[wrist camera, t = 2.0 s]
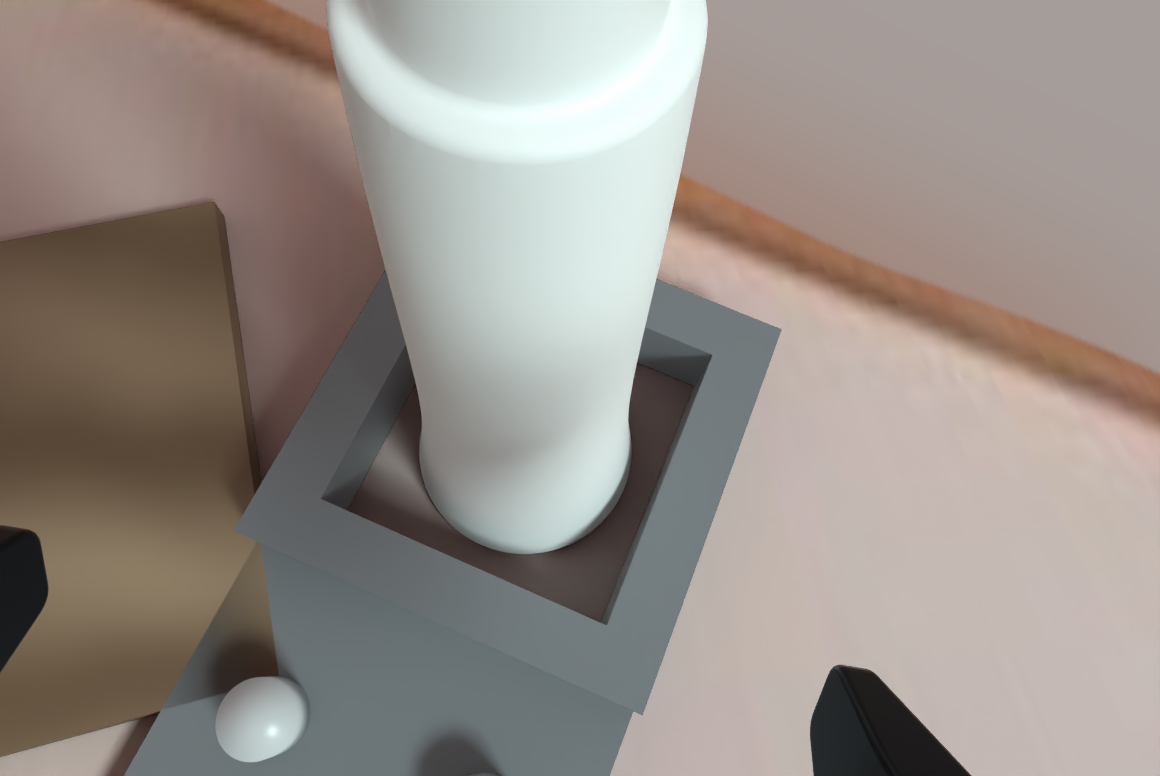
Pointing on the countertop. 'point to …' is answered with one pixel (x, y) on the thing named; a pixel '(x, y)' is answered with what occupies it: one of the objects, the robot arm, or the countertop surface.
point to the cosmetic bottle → (521, 233)
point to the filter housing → (452, 592)
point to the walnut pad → (126, 469)
